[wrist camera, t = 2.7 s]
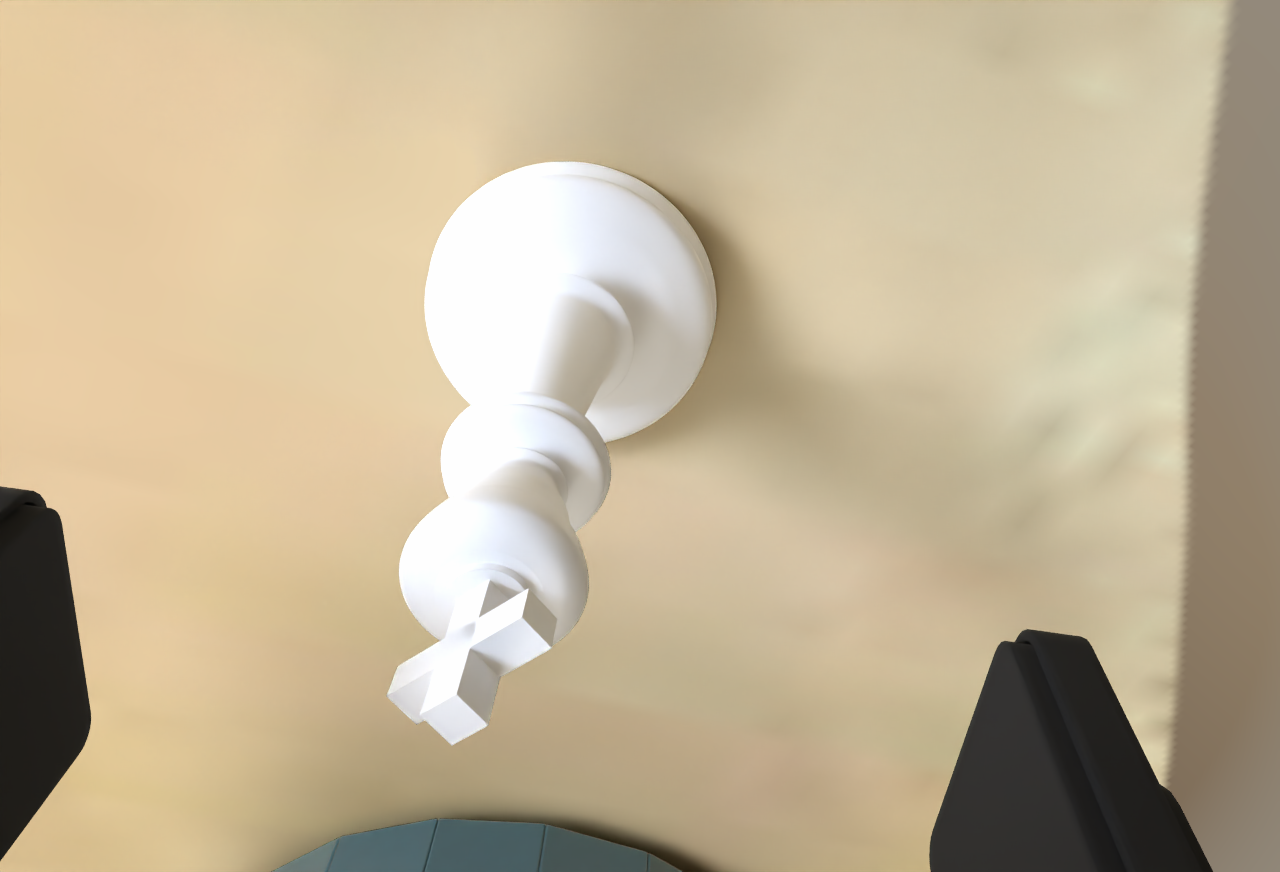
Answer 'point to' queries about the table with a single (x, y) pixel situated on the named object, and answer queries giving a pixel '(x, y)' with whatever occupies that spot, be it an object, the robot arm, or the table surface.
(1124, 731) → the robot arm
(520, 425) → the chess piece
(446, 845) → the teal faceted bowl
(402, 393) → the table surface
